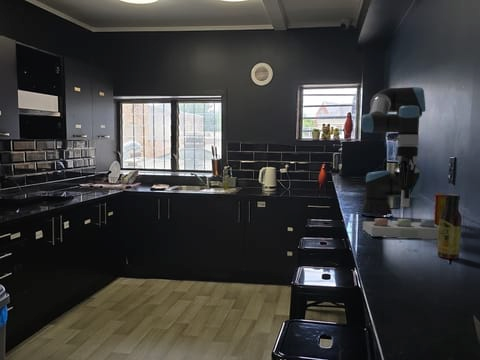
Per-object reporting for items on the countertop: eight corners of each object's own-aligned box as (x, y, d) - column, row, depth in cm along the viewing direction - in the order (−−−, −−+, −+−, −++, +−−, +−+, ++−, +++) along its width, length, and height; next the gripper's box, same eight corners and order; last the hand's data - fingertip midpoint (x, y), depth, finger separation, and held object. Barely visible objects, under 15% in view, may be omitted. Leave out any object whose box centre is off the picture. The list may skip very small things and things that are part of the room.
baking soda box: (451, 233, 179) (453, 194, 178) (434, 232, 181) (436, 193, 180) (449, 230, 187) (451, 192, 186) (433, 229, 190) (434, 192, 189)
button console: (362, 231, 181) (362, 221, 181) (431, 232, 180) (431, 223, 180) (371, 237, 167) (372, 227, 167) (446, 239, 166) (447, 229, 166)
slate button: (418, 226, 175) (418, 219, 174) (431, 226, 174) (431, 219, 174) (423, 228, 170) (423, 221, 169) (436, 229, 169) (436, 221, 169)
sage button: (395, 225, 175) (396, 218, 175) (408, 226, 175) (408, 218, 174) (399, 228, 170) (400, 220, 170) (412, 228, 170) (413, 220, 169)
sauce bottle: (433, 255, 140) (436, 193, 139) (451, 255, 141) (455, 193, 139) (444, 260, 133) (447, 195, 132) (464, 260, 134) (467, 195, 133)
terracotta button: (372, 225, 175) (373, 217, 175) (385, 225, 175) (385, 218, 175) (376, 227, 170) (376, 219, 170) (389, 227, 170) (389, 220, 170)
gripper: (392, 146, 177) (390, 204, 178) (403, 145, 164) (400, 208, 165) (411, 146, 177) (408, 205, 178) (423, 145, 164) (421, 208, 165)
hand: (405, 206), depth 172 cm, fingers closed
